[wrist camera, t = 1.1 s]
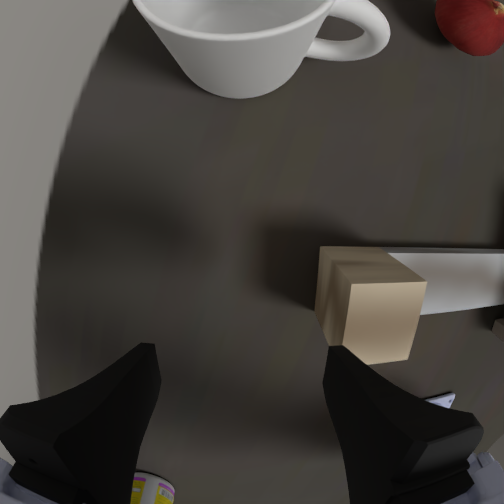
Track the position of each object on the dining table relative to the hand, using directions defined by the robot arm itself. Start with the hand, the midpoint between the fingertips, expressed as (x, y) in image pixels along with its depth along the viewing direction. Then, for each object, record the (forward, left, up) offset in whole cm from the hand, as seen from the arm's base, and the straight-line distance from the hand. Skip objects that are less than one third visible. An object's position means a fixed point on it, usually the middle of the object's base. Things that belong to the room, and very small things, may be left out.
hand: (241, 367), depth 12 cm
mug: (+16, -2, -10) cm, 19 cm away
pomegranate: (+21, -17, -10) cm, 28 cm away
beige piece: (0, -15, -10) cm, 18 cm away
